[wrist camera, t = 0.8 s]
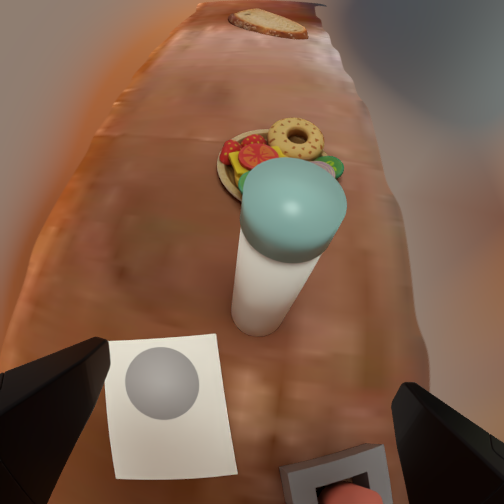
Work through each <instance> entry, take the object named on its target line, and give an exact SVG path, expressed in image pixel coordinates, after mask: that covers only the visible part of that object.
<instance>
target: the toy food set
mask: <svg viewBox="0 0 504 504" xmlns="http://www.w3.org/2000/svg"><path fill="white" fill-rule="evenodd" d="M323 148H324V137H323V135H322V133H321V131H320V130H319V129H318V128H317V127H316V126H315V125H314V124H313V123H311V122H309V121H307V120H304V119H301V118H285V119H282V120H279V121H277V122H276V123H274V124H273V125H272V126H271V128H270V129H263V130H254V131H249V132H246V133H243V134H241V135H238V136H237V137H235V138H233V139H232V140H228V141H226V142H225V143H224V145H223V148H222V150H221V152H220V154H219V156H218V160H217V170H218V174H219V177H220V179H221V181H222V183H223V185H224V186H225V187H226V189H227V190H228V191H229V192H230V193H231V194H232V195H233V196H234V197H236V198H237V199H238V200H240V201H241V202H242V195H243V187H244V182H245V179H246V177H247V175H248V174H249V172H250V171H251V170H252V169H253V168H254V167H255V166H257V165H258V164H260V163H262V162H264V161H267V160H270V159H274V158H283V157H288V158H297V159H302V160H305V161H309V162H311V163H314V164H316V165H318V166H320V167H321V168H323V169H324V170H326V171H327V172H328V173H330V174H331V175H332V176H333V177H334V178H335V179H336V180H337V178H339V177H340V176H341V175H342V174H343V171H344V166H343V163H342V162H341V161H340V160H339V159H337V158H336V157H333V156H328V155H327V154H326V153H325V152H324V151H323Z"/></svg>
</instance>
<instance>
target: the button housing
mask: <svg viewBox="0 0 504 504" xmlns="http://www.w3.org/2000/svg"><path fill="white" fill-rule="evenodd" d="M279 470H280V475H281V481H282V486H283V491H284V497H285V502H286V504H318V501H317V495H316V489H315V488H317V487H321V486H324V485H328V484H331V483H334V482H338V481H341V480H344V479H347V478H350V477H352V478H353V484H356V485H359V486H361V487H364V488H367V489H370V490H373V491H375V492H377V493H378V494H379V495H380V496H381V498H382V501H383V504H393V500H392V493H391V486H390V479H389V473H388V467H387V461H386V455H385V449H384V444H367V443H365V444H362V445H359V446H356V447H353V448H350V449H347V450H344V451H340V452H337V453H334V454H330V455H327V456H323V457H319V458H315V459H311V460H307V461H303V462H299V463H294V464H290V465H285V466H280V467H279Z"/></svg>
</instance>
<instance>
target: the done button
mask: <svg viewBox="0 0 504 504" xmlns="http://www.w3.org/2000/svg"><path fill="white" fill-rule="evenodd" d="M318 504H383V501H382V498H381V496H380V495H379V494H378V493H377V492H375V491H373V490H370V489H367V488H364V487H361V486H359V485H356V484H353V483H350V482H348V481H338V482H334V483H331V484H329V485H328V486H326V487H325V488H324V489H323V490H322V492H321V494H320V496H319V499H318Z"/></svg>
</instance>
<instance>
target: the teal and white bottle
mask: <svg viewBox="0 0 504 504" xmlns="http://www.w3.org/2000/svg"><path fill="white" fill-rule="evenodd" d="M346 209H347V202H346V197H345V194H344V191H343V189H342V187H341V186H340V184H339V183H338V181H337V180H336V179H335V178H334V177H333V176H332V175H331V174H330V173H328V172H327V171H326V170H324V169H323V168H321V167H320V166H318V165H316V164H314V163H311V162H309V161H305V160H302V159H297V158H288V157H283V158H274V159H270V160H267V161H264V162H262V163H260V164H258V165H257V166H255V167H254V168H253V169H252V170H251V171H250V172H249V174H248V175H247V177H246V179H245V182H244V187H243V195H242V204H241V213H240V225H241V231H240V239H239V247H238V255H237V264H236V272H235V281H234V289H233V298H232V306H231V315H232V319H233V321H234V323H235V325H236V326H237V327H238V328H239V329H240V330H241V331H242V332H244V333H246V334H248V335H251V336H256V337H261V336H266V335H269V334H271V333H273V332H274V331H275V330H276V329H277V328H278V327H279V326H280V324H281V323H282V321H283V319H284V318H285V316H286V314H287V313H288V311H289V309H290V308H291V306H292V304H293V303H294V301H295V299H296V298H297V296H298V294H299V292H300V291H301V289H302V287H303V286H304V284H305V282H306V280H307V279H308V277H309V275H310V273H311V272H312V270H313V268H314V266H315V265H316V263H317V261H318V259H319V257H320V256H321V254H322V253H323V252H324V251H325V250H326V249H327V247H328V246H329V244H330V242H331V240H332V239H333V237H334V235H335V233H336V231H337V230H338V228H339V226H340V224H341V222H342V220H343V219H344V217H345V214H346Z"/></svg>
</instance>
